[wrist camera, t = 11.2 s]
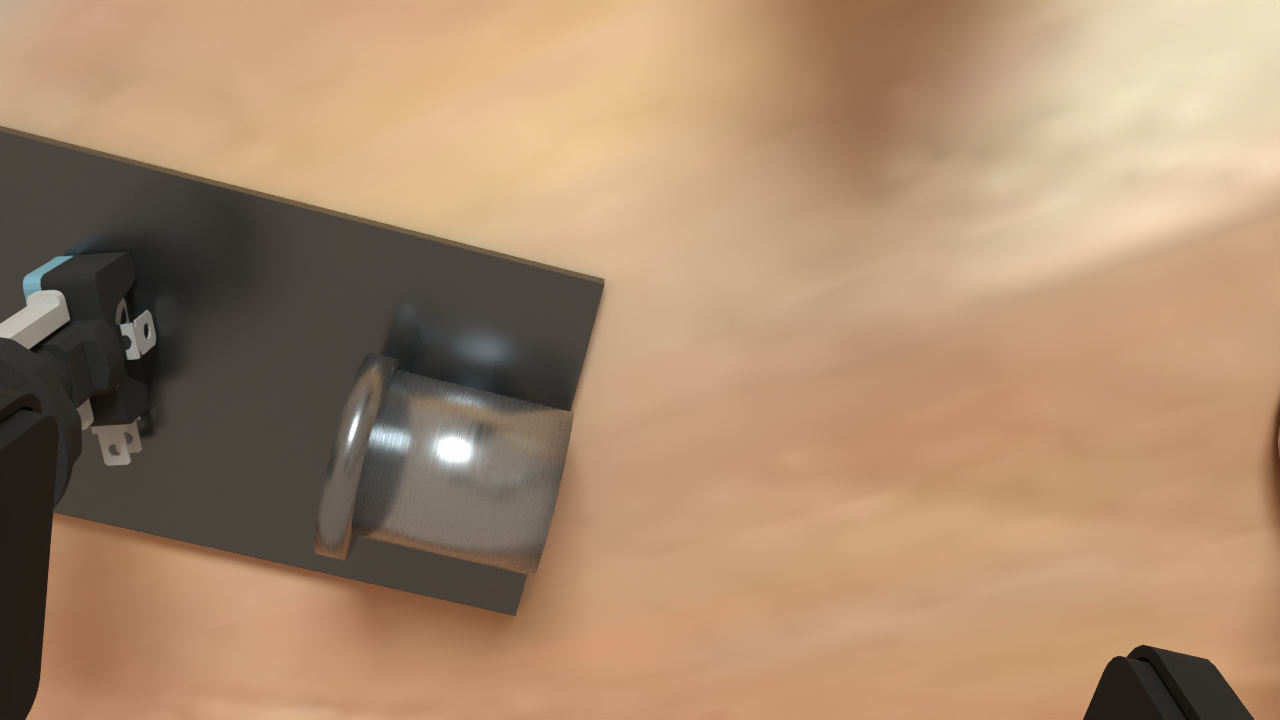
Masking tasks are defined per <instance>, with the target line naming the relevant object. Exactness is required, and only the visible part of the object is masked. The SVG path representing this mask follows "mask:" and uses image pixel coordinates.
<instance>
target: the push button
mask: <svg viewBox="0 0 1280 720" xmlns="http://www.w3.org/2000/svg"><path fill="white" fill-rule="evenodd" d="M134 282H135V269H134V265H133V260H132V257H131V255H130V254H129V253H128V252H116V253H101V254H86V255H75V256H60V257H55V258H54V259H52V260H51V261H50V262H48V263H46V264H45V265H43V266H41V267H39V268H38V269H36V270H34V271H33V272H31V273H29V274H28V275H26V276H25V278H24V280H23V290H24V294H25V298H26V302H27V307H25V308H23V309H22V310H20V311H19V312H17V313H16V314H14V315H13V316H11V317H10V318H8V319H7V320H5V321H4V322H2V323H0V387H2V388H6V389H11V390H15V391H20V392H24V393H29V394H33V395H35V396H36V397H37V398H38V400H39V401H40V405H41V409H42V414H45V415H50V416H54V418H55V419H56V420H57V423H58V427H59V442H58V455H57V468H56V480H55V493H54V506H53V510H54V508H55V507H56V506H57V505H58V503H59V502H60V500H61V499H62V497H63V495H64V494H65V492H66V489H67V487H68V484H69V481H70V478H71V474H72V468H73V465H74V464H75V462H76V461H77V459H78V458H79V456H80V455H81V452H82V430H85V429H87V428H88V427H91V429H92V433H93V434H97V433H98V437H99V441H100V445H101V450H102V454H103V458H104V462H105V464H106V465H108V466H112V465H128V464H129V463H130V462H131V458H130V453H134V452H140V451H141V450H142V444H141V440H140V436H139V431H138V427H137V422H136V420H140V419H141V418H140V415H141V414H142V413H143V412H144V411H145V410H146V408H147V405H148V396H147V395H148V384H147V380H146V375H145V371H144V366H143V362H142V357H141V355H144V354H145V353H146V352H147V351H148V350H149V349H150V348H152V347H153V346H154V345H155V343H156V334H155V329H154V324H153V320H152V315H151V313H150V312H149V311H148V310H146V311H144V312H143V313H142V314H141V315H139V316H138V317H137V318H136V319H134V320H133V316H132V312H131V307H130V303H129V298H128V294H127V292H128V291H129V289H130V288H131V287H132V285H133V284H134ZM145 324H146V325H147V328H148V337H147V339H146V338H145V335H144V325H145ZM125 432H127V433H130V434H131V435H132V437H133V441H132V442H131V443H127V440H126V436H125ZM111 444H115V446H116V450H117V452H119V453H121V454H120V455H113V454H112V453H110V451H109V446H110V445H111Z"/></svg>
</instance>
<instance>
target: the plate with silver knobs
mask: <svg viewBox="0 0 1280 720" xmlns="http://www.w3.org/2000/svg"><path fill="white" fill-rule="evenodd" d="M116 252H128V253H129V254H130V255H131V257H132V260H133V265H134V269H135V282H134V284H133V285H132V287H131V288H130V289H129V291H128V292H127V294H128V298H129V303H130V307H131V312H132V316H133V320H134V319H136V318H137V317H138V316H139V315H141V314H142V313H143V312H144V311H146V310H148V311H149V312H150V313H151V315H152V320H153V324H154V329H155V334H156V343H155V345H154V346H153V347H152V348H150V349H149V350H148V351H147V352H146V353H145V354H144V355H141V357H142V362H143V366H144V371H145V375H146V380H147V384H148V395H147V396H148V405H147V408H146V410H145V411H144V412H143V413H142V414H141V415H140V418H141V419H140V420H136V422H137V427H138V431H139V436H140V440H141V444H142V450H141V451H140V452H134V453H130V458H131V462H130V463H129V464H128V465H112V466H108V465H106V464H105V462H104V458H103V454H102V450H101V445H100V441H99V437H98V433H97V434H93V433H92V429H91V427H88V428H87V429H85V430H82V452H81V455H80V456H79V458H78V459H77V461H76V462H75V464H74V465H73V468H72V474H71V478H70V481H69V484H68V487H67V489H66V492H65V494H64V495H63V497H62V499H61V500H60V502H59V503H58V505H57V506H56V507H55V508H54V510H53V512H55V513H59V514H64V515H68V516H73V517H77V518H82V519H86V520H91V521H95V522H99V523H104V524H108V525H113V526H117V527H122V528H126V529H131V530H135V531H140V532H144V533H149V534H153V535H157V536H162V537H166V538H171V539H175V540H180V541H184V542H189V543H193V544H198V545H202V546H206V547H211V548H215V549H220V550H224V551H229V552H233V553H238V554H242V555H247V556H251V557H255V558H260V559H264V560H269V561H273V562H278V563H282V564H287V565H291V566H296V567H300V568H305V569H309V570H313V571H318V572H322V573H327V574H331V575H336V576H340V577H345V578H349V579H354V580H358V581H362V582H367V583H371V584H376V585H380V586H385V587H389V588H394V589H398V590H403V591H407V592H411V593H416V594H420V595H425V596H429V597H434V598H438V599H443V600H447V601H452V602H456V603H461V604H465V605H469V606H474V607H478V608H483V609H487V610H492V611H496V612H501V613H505V614H510V615H514V616H516V612H517V608H518V604H519V601H520V597H521V593H522V590H523V586H524V582H525V578H526V575H532V576H534V575H535V572H536V570H537V567H538V564H539V561H540V558H541V555H542V552H543V548H544V545H545V541H546V537H547V534H548V530H549V526H550V522H551V519H552V515H553V511H554V507H555V503H556V499H557V494H558V490H559V486H560V482H561V477H562V473H563V469H564V464H565V459H566V455H567V450H568V445H569V440H570V434H571V429H572V422H573V412H570V410H571V406H572V402H573V399H574V395H575V391H576V387H577V384H578V380H579V376H580V372H581V369H582V365H583V361H584V357H585V354H586V350H587V346H588V342H589V339H590V335H591V331H592V328H593V324H594V320H595V316H596V313H597V309H598V305H599V301H600V298H601V294H602V290H603V286H604V279H601V278H597V277H593V276H589V275H585V274H581V273H577V272H573V271H569V270H565V269H561V268H557V267H553V266H549V265H545V264H542V263H538V262H534V261H530V260H526V259H522V258H518V257H514V256H510V255H506V254H502V253H498V252H494V251H490V250H486V249H482V248H478V247H475V246H471V245H467V244H463V243H459V242H455V241H451V240H447V239H443V238H439V237H435V236H431V235H427V234H423V233H419V232H415V231H412V230H408V229H404V228H400V227H396V226H392V225H388V224H384V223H380V222H376V221H372V220H368V219H364V218H360V217H356V216H352V215H348V214H345V213H341V212H337V211H333V210H329V209H325V208H321V207H317V206H313V205H309V204H305V203H301V202H297V201H293V200H289V199H285V198H281V197H278V196H274V195H270V194H266V193H262V192H258V191H254V190H250V189H246V188H242V187H238V186H234V185H230V184H226V183H222V182H218V181H214V180H211V179H207V178H203V177H199V176H195V175H191V174H187V173H183V172H179V171H175V170H171V169H167V168H163V167H159V166H155V165H151V164H147V163H144V162H140V161H136V160H132V159H128V158H124V157H120V156H116V155H112V154H108V153H104V152H100V151H96V150H92V149H88V148H84V147H80V146H77V145H73V144H69V143H65V142H61V141H57V140H53V139H49V138H45V137H41V136H37V135H33V134H29V133H25V132H21V131H17V130H14V129H10V128H6V127H2V126H0V323H2V322H4V321H5V320H7V319H8V318H10V317H11V316H13V315H14V314H16V313H17V312H19V311H20V310H22V309H23V308H25V307H27V302H26V298H25V294H24V290H23V280H24V278H25V276H26V275H28V274H29V273H31V272H33V271H34V270H36V269H38V268H39V267H41V266H43V265H45V264H46V263H48V262H50V261H51V260H52V259H54V258H55V257H60V256H75V255H86V254H101V253H116ZM144 335H145V338H146V339H147V337H148V328H147V325H146V324H145V325H144ZM125 436H126V440H127V443H131V442H132V441H133V437H132V435H131V434H130V433H127V432H125ZM109 451H110V453H112V454H113V455H120V454H121V453H119V452H117V450H116V446H115V444H111V445H110V446H109Z"/></svg>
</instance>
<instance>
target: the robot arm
mask: <svg viewBox="0 0 1280 720" xmlns="http://www.w3.org/2000/svg"><path fill="white" fill-rule="evenodd" d="M58 442H59V427H58V423H57V420H56V419H55V418H54V416H50V415H45V414H42V409H41V405H40V401H39V400H38V398H37V397H36V396H35V395H33V394H29V393H24V392H20V391H15V390H11V389H6V388H2V387H0V720H25V719H26V717H27V716H28V714H29V712H30V710H31V708H32V705H33V703H34V700H35V698H36V694H37V691H38V687H39V681H40V671H41V659H42V646H43V633H44V620H45V608H46V595H47V582H48V569H49V557H50V544H51V531H52V519H53V506H54V493H55V480H56V468H57V455H58ZM1278 447H1279V458H1280V428H1279V437H1278ZM1083 720H1254V718H1253V717H1252V716H1251V714H1250V713H1249V712H1248V710H1247V709H1246V708H1245V706H1244V705H1243V703H1242V702H1241V701H1240V699H1239V698H1238V697H1237V695H1236V694H1235V693H1234V691H1233V690H1232V688H1231V687H1230V686H1229V684H1228V683H1227V682H1226V680H1225V679H1224V678H1223V676H1222V675H1221V673H1220V672H1219V671H1218V669H1217V668H1216V667H1215V666H1214V665H1213V664H1212V663H1211V662H1210V661H1209V660H1208V659H1204V658H1199V657H1195V656H1191V655H1186V654H1182V653H1177V652H1173V651H1168V650H1164V649H1159V648H1155V647H1151V646H1146V645H1141V646H1138V647H1136V648H1135V649H1134V650H1133V651H1132V652H1131V653H1130V654H1129V655H1128V656H1127V658H1126V657H1122V656H1117V657H1115V658H1113V659H1112V660H1111V661H1110V662H1109V663H1108V665H1107V666H1106V668H1105V670H1104V672H1103V674H1102V677H1101V679H1100V681H1099V684H1098V686H1097V688H1096V691H1095V693H1094V695H1093V698H1092V700H1091V702H1090V705H1089V707H1088V709H1087V712H1086V714H1085V716H1084V719H1083Z"/></svg>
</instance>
